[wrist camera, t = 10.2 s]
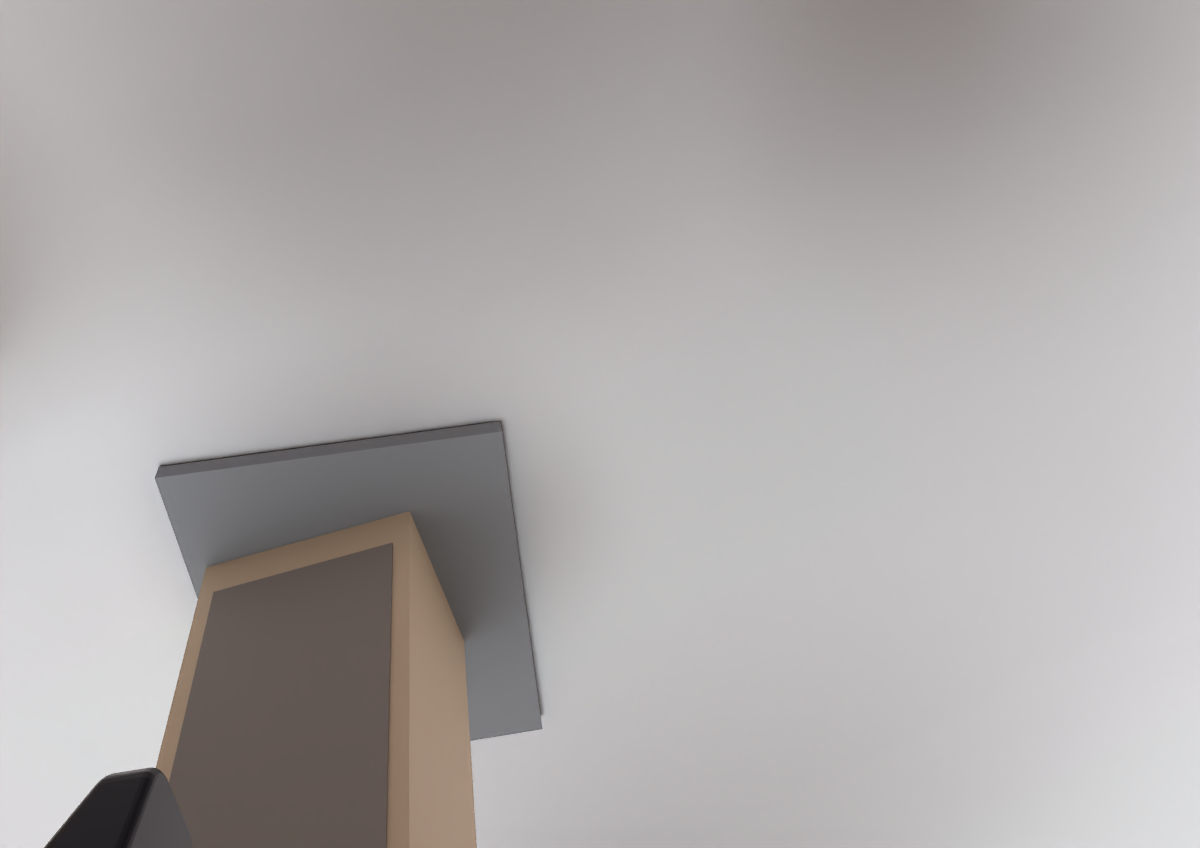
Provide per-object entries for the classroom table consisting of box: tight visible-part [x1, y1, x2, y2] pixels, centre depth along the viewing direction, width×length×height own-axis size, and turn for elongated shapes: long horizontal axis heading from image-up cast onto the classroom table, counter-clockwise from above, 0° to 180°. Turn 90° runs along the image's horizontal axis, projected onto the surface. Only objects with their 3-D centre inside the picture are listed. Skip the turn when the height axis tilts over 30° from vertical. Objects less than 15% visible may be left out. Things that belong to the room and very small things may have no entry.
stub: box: [156, 511, 477, 848], centre depth 19 cm, size 4×5×12 cm
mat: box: [155, 421, 542, 741], centre depth 24 cm, size 9×7×1 cm
